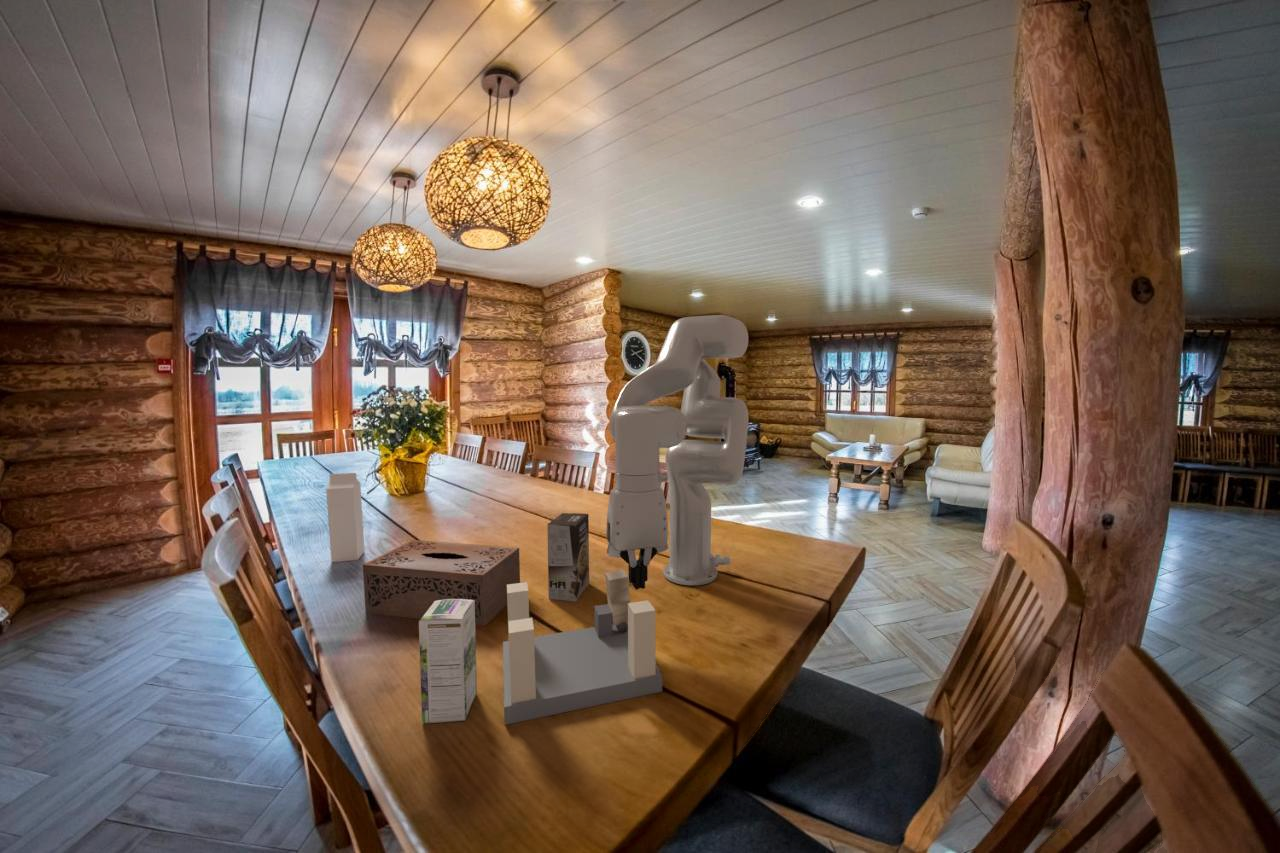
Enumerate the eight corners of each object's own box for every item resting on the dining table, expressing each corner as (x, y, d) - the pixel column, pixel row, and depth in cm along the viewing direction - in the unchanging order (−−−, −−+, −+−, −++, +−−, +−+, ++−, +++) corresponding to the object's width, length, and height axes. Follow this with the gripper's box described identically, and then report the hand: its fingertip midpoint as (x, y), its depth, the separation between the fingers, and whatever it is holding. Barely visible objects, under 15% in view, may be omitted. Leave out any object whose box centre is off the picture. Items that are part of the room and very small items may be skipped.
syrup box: (436, 695, 66) (432, 599, 65) (478, 693, 67) (474, 597, 65) (421, 724, 61) (415, 619, 59) (467, 721, 61) (463, 617, 60)
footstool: (631, 634, 82) (631, 567, 81) (662, 691, 67) (662, 610, 66) (503, 656, 76) (500, 584, 75) (504, 724, 61) (501, 636, 59)
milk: (357, 560, 117) (352, 475, 115) (330, 562, 116) (324, 476, 114) (365, 551, 123) (360, 470, 121) (339, 554, 122) (333, 471, 119)
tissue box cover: (365, 613, 91) (362, 564, 90) (415, 582, 105) (413, 539, 104) (485, 627, 85) (483, 575, 84) (520, 592, 99) (519, 547, 98)
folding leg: (627, 620, 81) (622, 568, 80) (632, 630, 78) (628, 577, 77) (609, 624, 81) (604, 572, 79) (614, 634, 77) (609, 581, 76)
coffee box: (577, 602, 94) (575, 525, 93) (547, 599, 96) (545, 523, 94) (590, 583, 103) (589, 513, 102) (563, 581, 105) (562, 511, 103)
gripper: (670, 475, 84) (670, 572, 86) (589, 480, 80) (591, 582, 82) (686, 483, 77) (686, 589, 79) (598, 490, 73) (600, 601, 74)
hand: (638, 585), depth 80 cm, fingers closed
